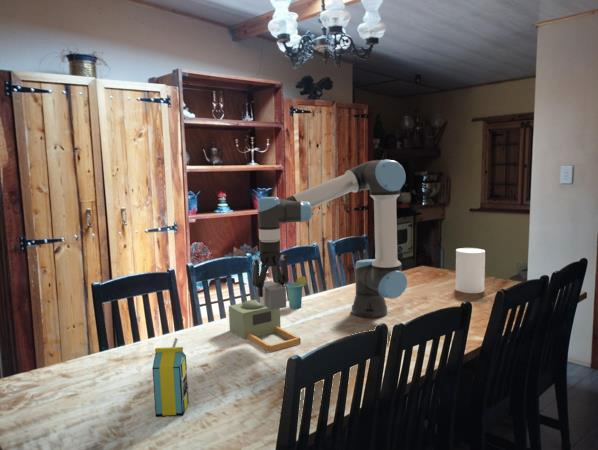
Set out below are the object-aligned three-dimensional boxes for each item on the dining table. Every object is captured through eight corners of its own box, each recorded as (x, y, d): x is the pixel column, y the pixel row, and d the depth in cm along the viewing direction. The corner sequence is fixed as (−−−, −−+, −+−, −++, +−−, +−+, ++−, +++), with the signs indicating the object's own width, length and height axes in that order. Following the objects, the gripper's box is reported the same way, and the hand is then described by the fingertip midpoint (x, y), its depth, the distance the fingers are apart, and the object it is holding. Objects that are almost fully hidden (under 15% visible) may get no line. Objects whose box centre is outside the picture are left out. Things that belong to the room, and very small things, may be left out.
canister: (449, 288, 233) (450, 249, 231) (469, 284, 239) (470, 247, 237) (469, 294, 221) (470, 253, 219) (490, 290, 227) (491, 251, 224)
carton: (190, 400, 126) (186, 337, 123) (184, 415, 118) (180, 348, 116) (162, 401, 125) (158, 338, 123) (155, 417, 118) (150, 349, 115)
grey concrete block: (271, 299, 173) (271, 280, 172) (286, 307, 163) (285, 287, 162) (256, 301, 170) (256, 283, 169) (271, 309, 160) (270, 290, 159)
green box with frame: (265, 322, 189) (264, 296, 187) (304, 342, 166) (303, 312, 164) (229, 330, 180) (228, 303, 178) (265, 353, 157) (264, 322, 155)
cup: (286, 313, 200) (285, 279, 198) (276, 309, 206) (275, 276, 204) (311, 306, 208) (310, 274, 206) (300, 303, 214) (299, 271, 213)
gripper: (286, 236, 172) (288, 296, 175) (240, 242, 161) (242, 305, 164) (297, 238, 166) (299, 301, 169) (250, 244, 155) (252, 310, 158)
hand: (271, 303), depth 166 cm, fingers closed on grey concrete block, 6 cm apart
